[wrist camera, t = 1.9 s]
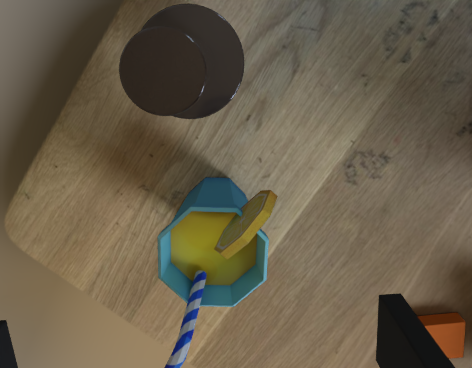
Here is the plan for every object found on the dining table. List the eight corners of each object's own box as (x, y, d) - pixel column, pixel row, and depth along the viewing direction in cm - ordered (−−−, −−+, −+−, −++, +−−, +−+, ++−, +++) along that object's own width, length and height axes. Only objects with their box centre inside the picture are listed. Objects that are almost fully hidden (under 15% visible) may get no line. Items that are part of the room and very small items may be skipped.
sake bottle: (234, 21, 34) (245, -39, 11) (240, 86, 35) (261, 152, 12) (170, 28, 34) (51, -18, 11) (179, 92, 36) (90, 169, 13)
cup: (220, 291, 41) (217, 421, 27) (144, 261, 40) (97, 379, 26) (286, 160, 37) (322, 230, 23) (203, 124, 36) (187, 172, 22)
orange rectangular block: (457, 312, 42) (465, 321, 41) (455, 346, 43) (463, 357, 42) (405, 316, 42) (412, 326, 41) (405, 351, 43) (411, 362, 42)
